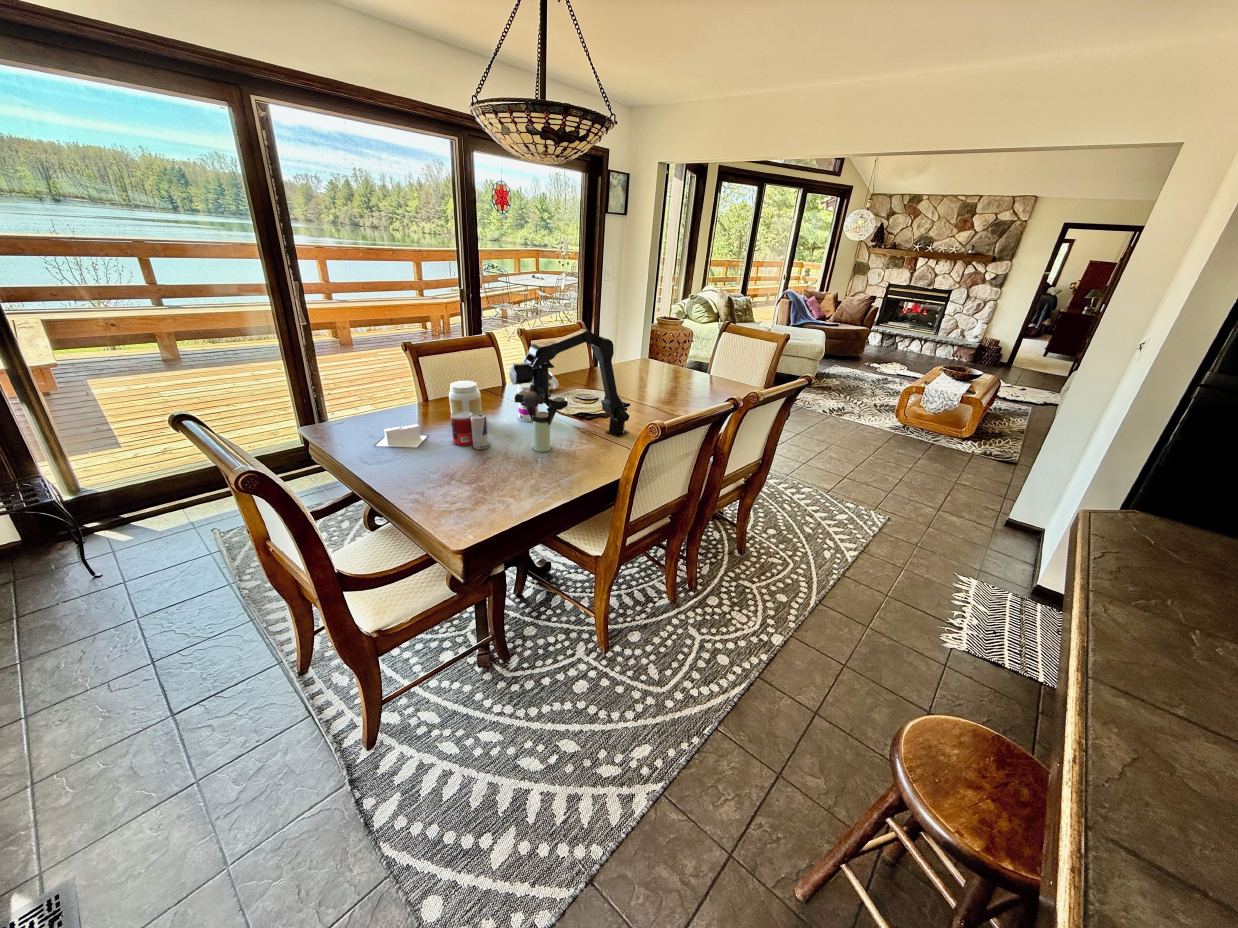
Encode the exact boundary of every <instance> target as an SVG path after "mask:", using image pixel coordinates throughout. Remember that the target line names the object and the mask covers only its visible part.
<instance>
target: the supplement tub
mask: <svg viewBox="0 0 1238 928" xmlns="http://www.w3.org/2000/svg"><path fill="white" fill-rule="evenodd" d="M449 389H450V390H449V392H448V399H449V407H450V415H451V414H452V413H455V412H459V411H468V412H471V413H473V415H474V414H483V409H482V407H483V405H482V397H481V391H480V390H479V386H478V382H476V381H473V380H457V381H454V382H451V383H450V384H449Z"/></svg>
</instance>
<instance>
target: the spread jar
mask: <svg viewBox="0 0 1238 928" xmlns="http://www.w3.org/2000/svg"><path fill="white" fill-rule="evenodd" d="M549 383H551V386H549V393H550V392H551V391H552V390H556V389H557V388H559V385H560V383H559V381H558V379H557V378H556V377H555V376H554V375H553V374H552V372H551V371H549Z"/></svg>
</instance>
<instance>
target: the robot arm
mask: <svg viewBox="0 0 1238 928" xmlns="http://www.w3.org/2000/svg"><path fill="white" fill-rule="evenodd" d="M585 343H586V344H588V345H589V346H590V348H591V350H592V352H593V355H594V357H595V358H596V360H597V361H598V365H599V366H598V367H599V370H600V376H601V380H602V386H603V392H604V398H603V399H601V400H600V403H601V409H602V410H603V412H604V413H605V414H606V416H607V417H608V418H610V419H609V426H608V430H606V432H605V433H606V434H609V435H612V436H616V437H620V436H622V435H625V434H627V433H628V430H626V429H625V425H626V422H628V421H629V420H630V414H629V413H627V411H626V410H625V407H624V404H623V401H622V399H621V398H620V396H619V394H618V390H617V384H616V379H615V372H614V368H613V361H612V360H613V357H614V347H615V346H614V342H613V341H612V340H611V339H609V338H606V337H604V336H600V335H597V334H595V333H593V332H592V331H591V330H589V329H586V328H580V329H579V330H577V331H574V332H572V333H569V334H567V335H565V336H561V337H560V338H556V339H553V340H551V341H541V342H535V343H532V344H531V345H530V346H529V348H528V352H527V355H526V356H525V357H524V359H523V361H522V363H512V364H511V368H510V369H509V373H508V374H509V379H510V382H511V384H512V385H519V384H523V383H532V384H531V385H530V391H528V392H526V391H522V392H519V393H518V392H517V393H516V394H515V395H514V402H515V403H517V404H518V403H521V405H523V406H525V407H526V408H527V410H528V412H529V414H530V417H531V419H532V414H533V413H535V412H536V407H537V406H538V407H539V405H543V404H545V405H549V407H547V408H546V412H548V424H549V425H550V426H551V424H552V423H553V420H554V417H555V415H556V413H557V411H561V410H563V409H565V408H567V407H568V405H569V404H568V402H569V401H568V399H567V398H566V397H560V396H557V397H555V398H552V393H550V392H549V386H551V383H549V372H550V369H554V368H555V365H554V364H553V363H552V362H551V361H552V360H553V359H555V357H556V356H557V355H558V354H560V353H562V352H565V351H568V350H570V349H572V348H575V347H577V346H580V345H582V344H585ZM531 422H533V420H532V421H531Z"/></svg>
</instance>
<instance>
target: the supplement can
mask: <svg viewBox="0 0 1238 928" xmlns="http://www.w3.org/2000/svg"><path fill="white" fill-rule="evenodd" d="M531 384H532V382H530V383H523V384H518V385H517V388H516V389H517V393H519V392H522V391H526V392H528V391H530V385H531ZM517 409H518V419H519V420H520V421H523V422H528V423H529V422H533V421H532V419H531V417H530V414H529V412H528V410H527V408H526V407H525V406H523V405H521V403H518V402H517ZM536 412H539V405H538V406H537V407H536Z"/></svg>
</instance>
